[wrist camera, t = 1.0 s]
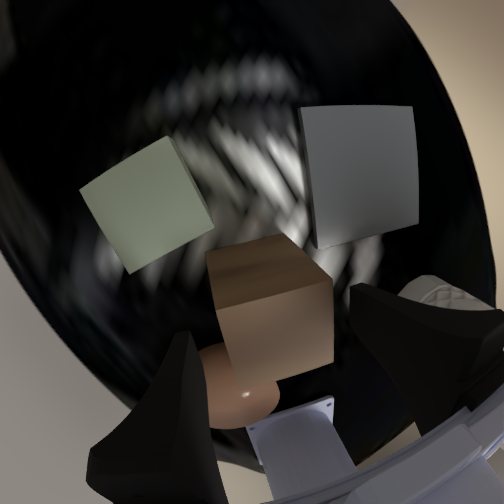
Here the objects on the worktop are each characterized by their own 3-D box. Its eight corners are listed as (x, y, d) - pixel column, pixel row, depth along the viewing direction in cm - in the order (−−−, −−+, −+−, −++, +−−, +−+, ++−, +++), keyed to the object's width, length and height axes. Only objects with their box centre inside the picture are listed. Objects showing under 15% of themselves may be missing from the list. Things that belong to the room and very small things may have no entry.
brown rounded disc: (272, 387, 21) (283, 415, 18) (198, 405, 20) (202, 435, 17) (261, 330, 18) (274, 360, 16) (172, 351, 17) (172, 384, 15)
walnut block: (292, 300, 18) (333, 361, 12) (222, 319, 17) (239, 390, 12) (283, 233, 16) (332, 278, 11) (204, 251, 15) (215, 310, 10)
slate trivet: (413, 221, 18) (418, 223, 17) (314, 247, 17) (318, 250, 16) (407, 107, 15) (412, 106, 14) (297, 108, 14) (300, 107, 13)
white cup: (430, 247, 19) (529, 306, 10) (451, 299, 22) (522, 354, 13) (362, 321, 20) (444, 412, 11) (396, 359, 23) (458, 430, 14)
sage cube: (208, 207, 15) (215, 227, 11) (142, 243, 15) (129, 274, 11) (173, 139, 13) (167, 135, 9) (106, 178, 13) (79, 190, 9)
